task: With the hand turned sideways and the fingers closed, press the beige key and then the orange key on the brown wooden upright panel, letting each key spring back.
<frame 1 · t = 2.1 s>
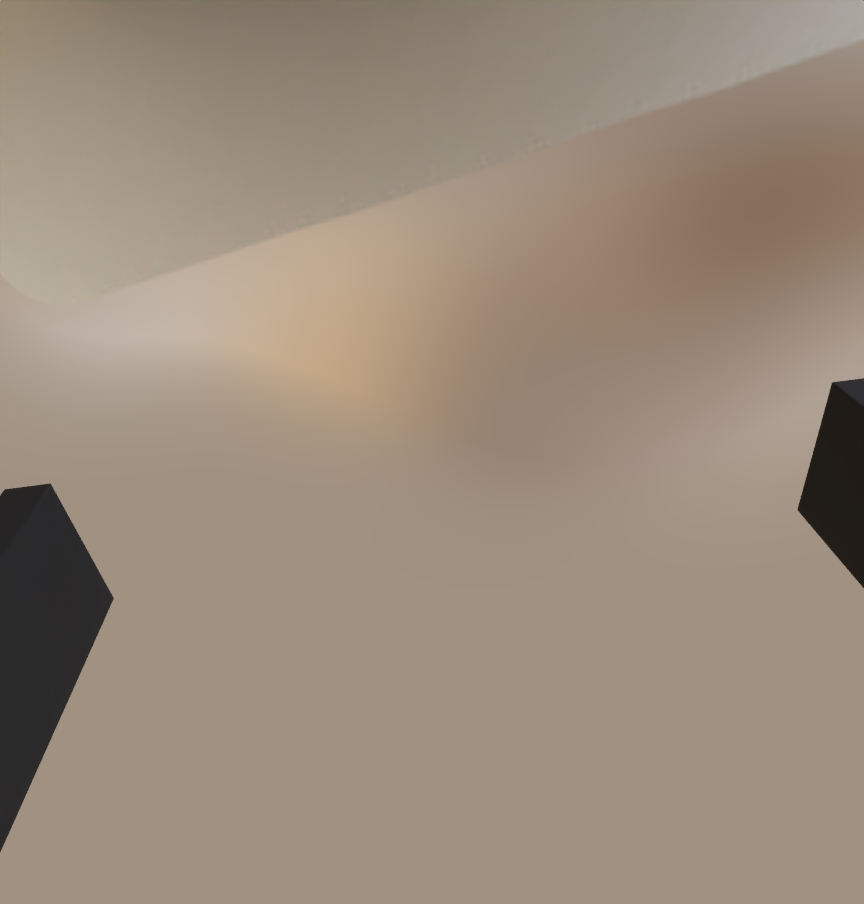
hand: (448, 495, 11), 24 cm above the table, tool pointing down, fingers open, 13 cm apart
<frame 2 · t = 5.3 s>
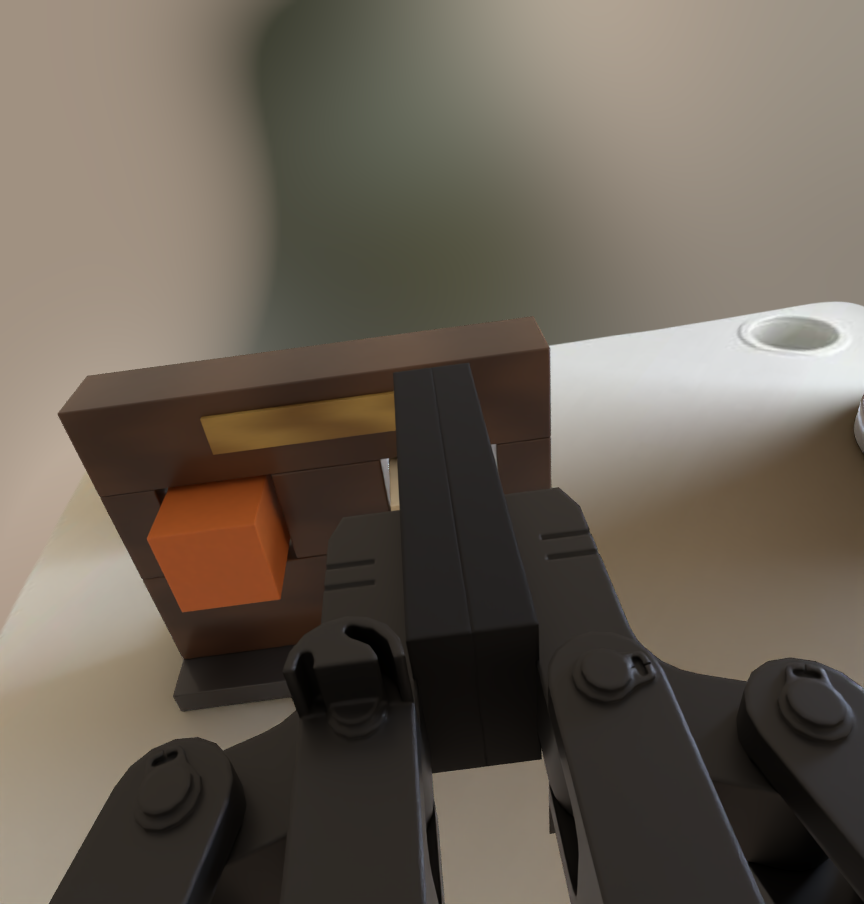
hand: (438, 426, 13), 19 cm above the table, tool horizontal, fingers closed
brown wooden upright panel: (371, 627, 33), on the table
beige key: (445, 506, 27), point 9 cm above the table, slide at 0.1 cm
orange key: (226, 535, 27), point 9 cm above the table, slide at 0.1 cm
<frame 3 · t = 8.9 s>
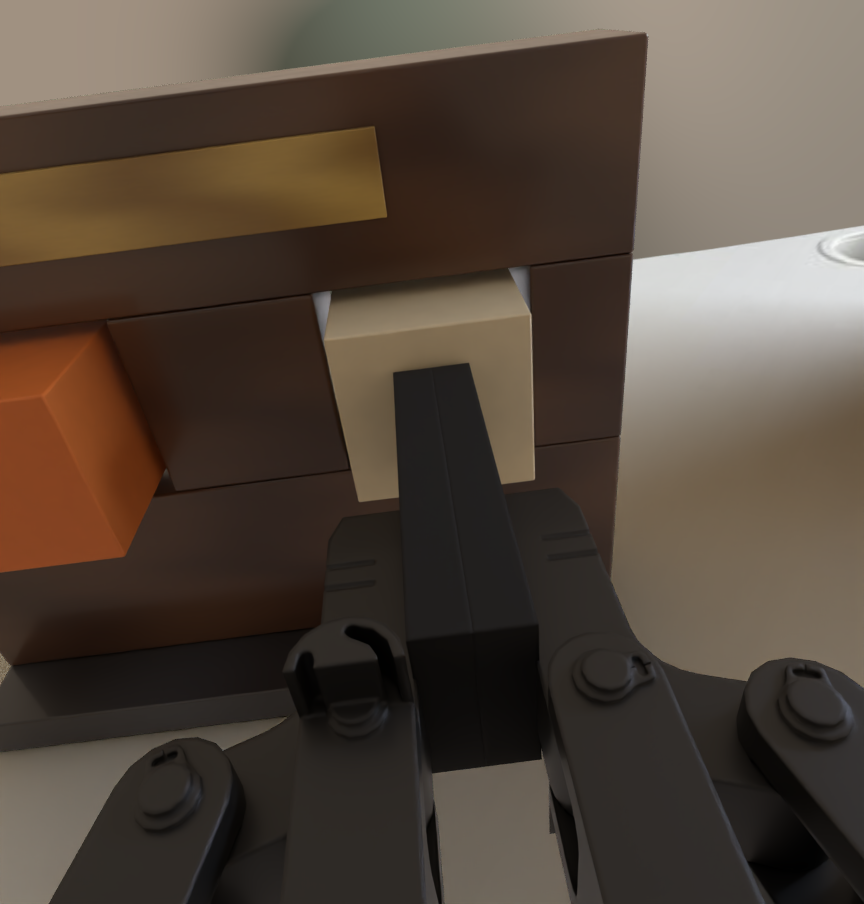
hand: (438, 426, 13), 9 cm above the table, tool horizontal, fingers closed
brown wooden upright panel: (321, 617, 21), on the table
beige key: (431, 372, 15), point 9 cm above the table, slide at -0.8 cm, touching gripper
orange key: (31, 441, 14), point 9 cm above the table, slide at 0.1 cm
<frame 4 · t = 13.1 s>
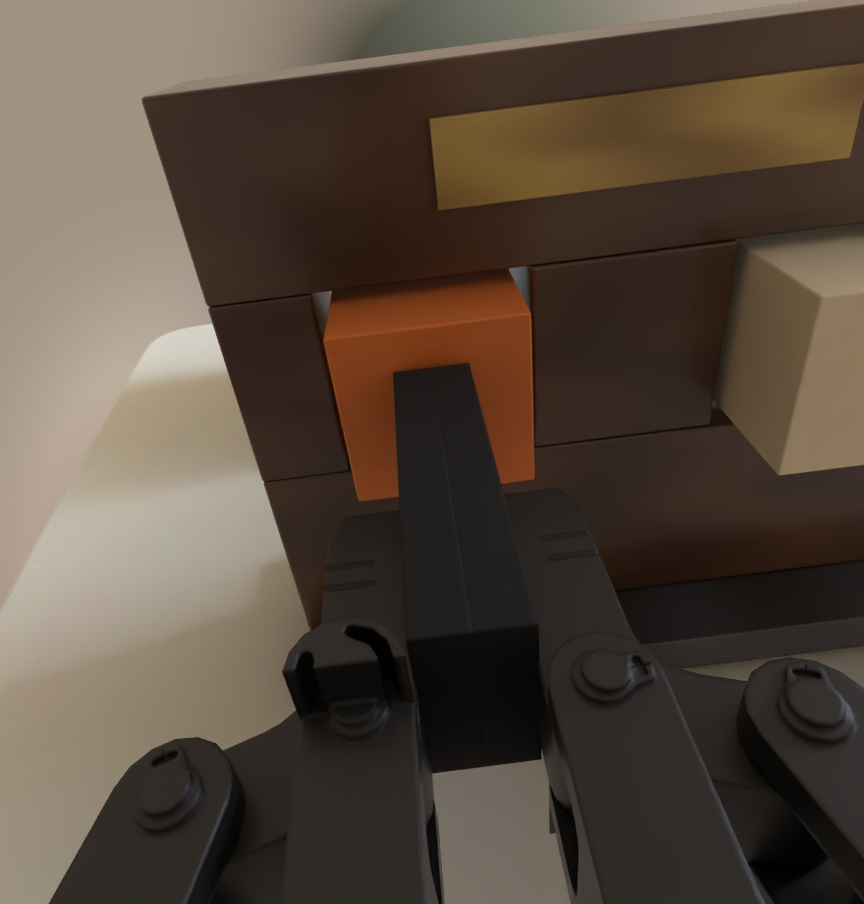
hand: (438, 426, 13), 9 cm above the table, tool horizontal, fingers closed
brown wooden upright panel: (596, 584, 21), on the table
beige key: (839, 339, 14), point 9 cm above the table, slide at 0.1 cm
orange key: (431, 371, 15), point 9 cm above the table, slide at -0.8 cm, touching gripper
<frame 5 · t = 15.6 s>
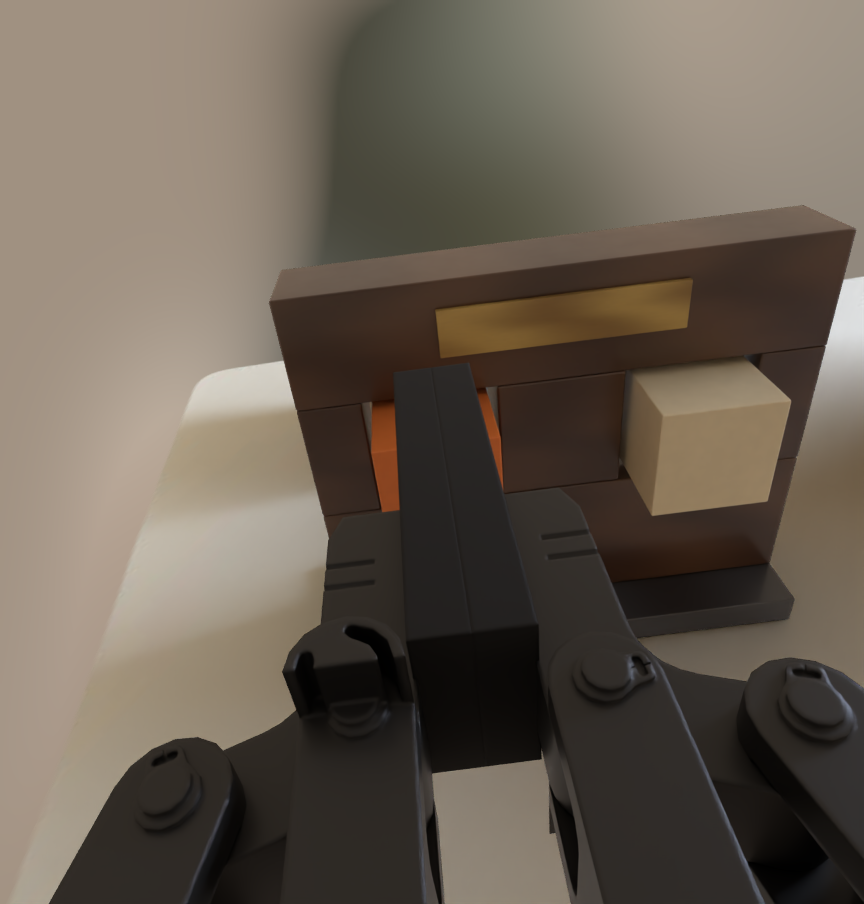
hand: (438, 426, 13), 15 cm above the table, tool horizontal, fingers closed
brown wooden upright panel: (551, 584, 29), on the table
beige key: (693, 428, 23), point 9 cm above the table, slide at 0.1 cm
orange key: (437, 460, 23), point 9 cm above the table, slide at 0.1 cm
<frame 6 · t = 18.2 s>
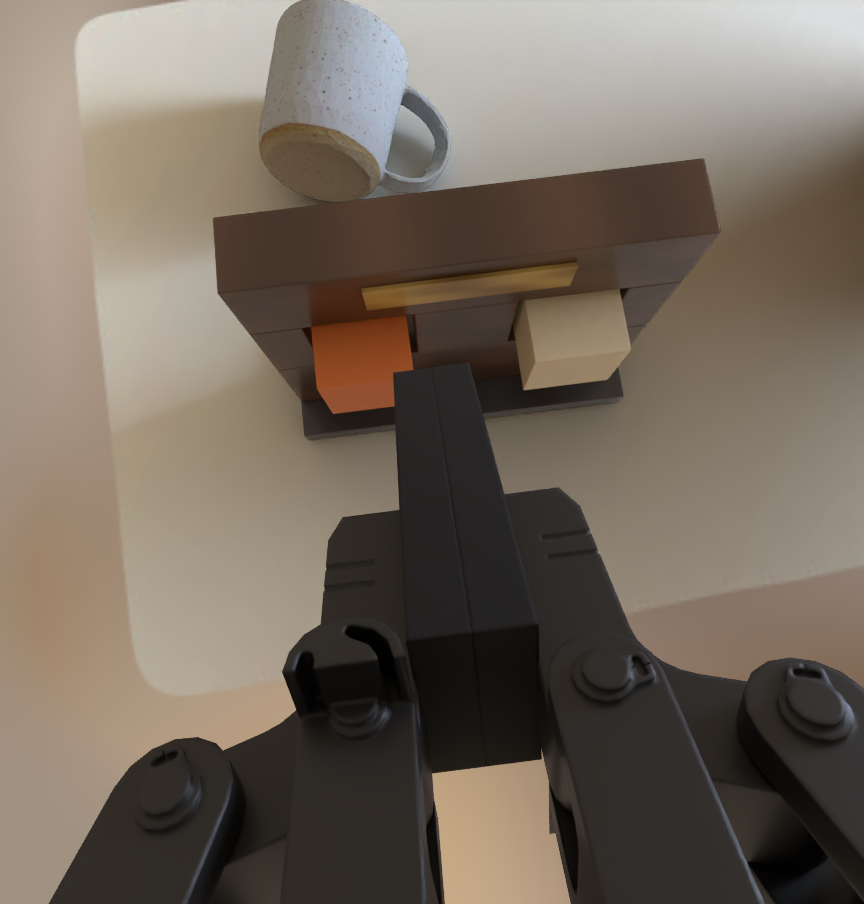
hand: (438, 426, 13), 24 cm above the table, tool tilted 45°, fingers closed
brown wooden upright panel: (455, 363, 38), on the table
beige key: (566, 329, 29), point 9 cm above the table, slide at 0.1 cm
orange key: (365, 354, 29), point 9 cm above the table, slide at 0.1 cm
ceramic mug: (363, 153, 41), on the table
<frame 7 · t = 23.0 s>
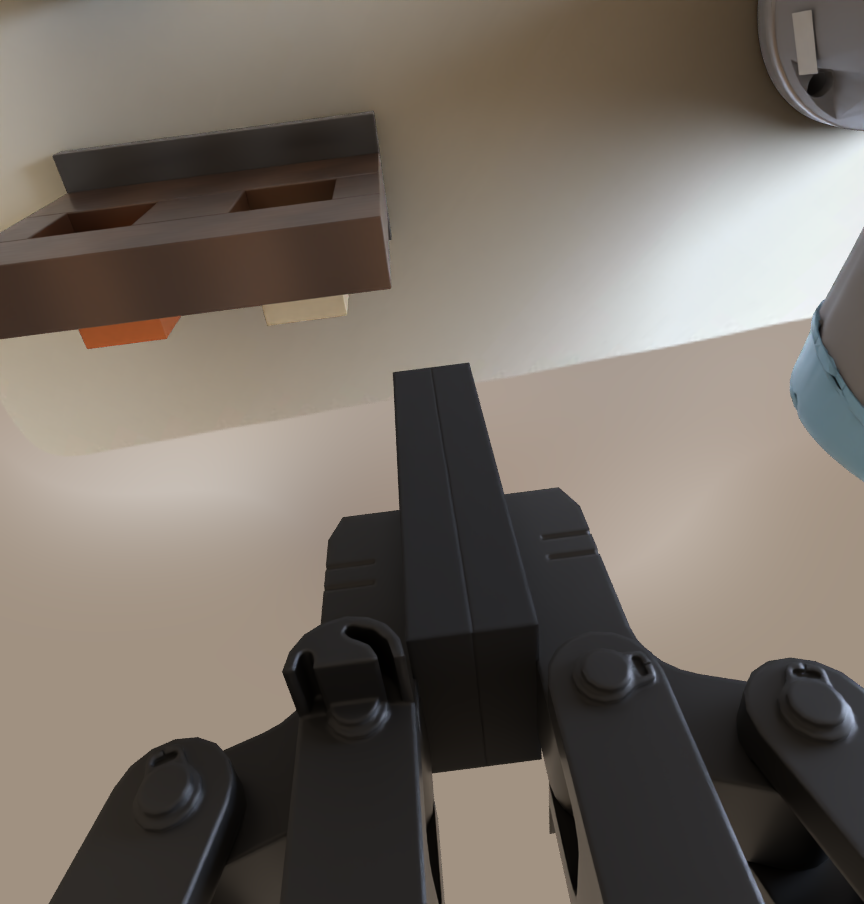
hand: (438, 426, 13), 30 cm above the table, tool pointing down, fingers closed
brown wooden upright panel: (234, 195, 39), on the table
beige key: (302, 268, 33), point 9 cm above the table, slide at 0.1 cm
orange key: (124, 291, 33), point 9 cm above the table, slide at 0.1 cm
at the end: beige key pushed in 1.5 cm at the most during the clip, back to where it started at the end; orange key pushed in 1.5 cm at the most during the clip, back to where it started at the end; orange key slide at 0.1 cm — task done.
